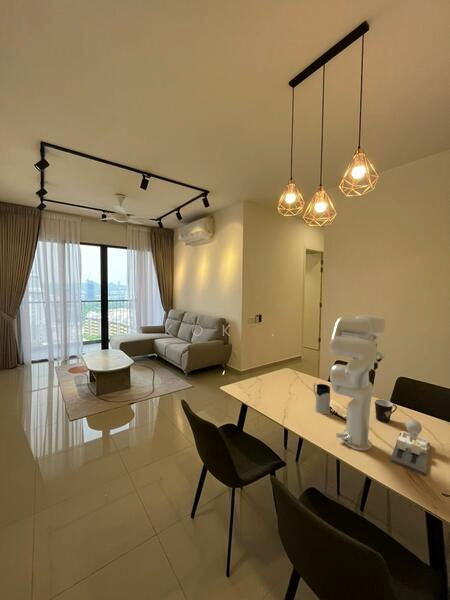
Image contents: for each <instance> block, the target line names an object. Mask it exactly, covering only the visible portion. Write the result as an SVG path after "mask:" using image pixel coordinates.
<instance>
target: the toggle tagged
mask: <svg viewBox="0 0 450 600" xmlns="http://www.w3.org/2000/svg"><path fill="white" fill-rule="evenodd" d="M420 447H421V442H419V441H416V440H412V444H411V452H412V453H415V454H418V455H419V454H420Z"/></svg>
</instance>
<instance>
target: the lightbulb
mask: <svg viewBox="0 0 450 600" xmlns="http://www.w3.org/2000/svg"><path fill="white" fill-rule="evenodd" d="M405 427H406V429H407V431H408V432H407V433H409V438H410V441H411V442H412V440H416V439H417V436H419V434H420V433H421V432H422V430H423V427H422V425H421V423H420V422H419V421H417V420H416V419H408V420H406V423H405Z"/></svg>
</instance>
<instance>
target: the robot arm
mask: <svg viewBox="0 0 450 600" xmlns="http://www.w3.org/2000/svg"><path fill="white" fill-rule="evenodd" d="M386 326H387V322H386V319H385V317H383V316H376V315H374V314H361V315H357V316H356V317H354V316H353V317H349V316H340V317H338V318H337V319H336V321H335V323H334V326H333V329H332V332H331V336H330V341H329V344H328V345H329V346H328V347H329V351H330V353H331V354H332V355H335V356H338V357H339V356H340V357H345V358H350V359H352V360H350V361H349V362H348V363H347V364H340V363H338V364H337V363H336V364H334V365H332V367H331V368H330V372H329V380H330V383H331V387H332V390H333V392H334V393H335V394H338V395H341V396H345V397H349V398H352V399H351V400H350V401H349V402H348V403H347V409H346V424H345V425H346V426H345V429H344V430H343V432H341V433H340V432H338V433H337V432H336V433H335V437H336V438H337V439H341V441H343V443H344V444H345V445H346V446H348V447H350V448H351V449H354V450H356V451H365V452H366V451H370V450H371V449H372V446H373V444H372V442H371V440H370V439H369V430H370V413H371V412H370V411H371V403H372V398H373V394H374V385H373V383H372V382H370V378H369V377H370V375H369V374H370V373H369V372H370V371H371V370H372V368H373V370H374V371H376V370H377V369H378V367H379V362H382V360H383V359H384V358H385V355H384V354H383V353H381V352H379V351H378V341H377V340H376V339H379V336H377V335H376V334H383V333H384V332H385V330H386ZM378 356H379V358H377V357H378Z"/></svg>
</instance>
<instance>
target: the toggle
mask: <svg viewBox="0 0 450 600" xmlns="http://www.w3.org/2000/svg"><path fill="white" fill-rule="evenodd" d="M398 437H399V438H397V440H398V444H397V448H399V449H402V450H404V451H405V450H406V446H407V438H404V437H402V436H399V435H398Z"/></svg>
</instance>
